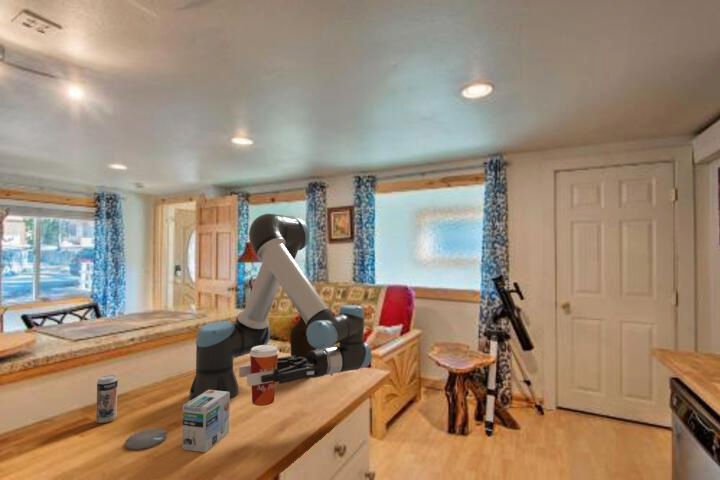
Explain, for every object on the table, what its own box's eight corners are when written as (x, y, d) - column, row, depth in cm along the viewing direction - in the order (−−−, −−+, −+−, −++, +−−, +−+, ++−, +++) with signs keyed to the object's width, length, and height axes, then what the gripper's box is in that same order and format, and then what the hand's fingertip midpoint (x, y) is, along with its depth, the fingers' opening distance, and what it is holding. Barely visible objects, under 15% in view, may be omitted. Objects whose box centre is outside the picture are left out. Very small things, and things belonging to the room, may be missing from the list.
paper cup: (262, 410, 91) (263, 353, 91) (241, 403, 95) (242, 348, 95) (284, 399, 97) (285, 346, 98) (264, 393, 101) (265, 342, 102)
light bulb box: (205, 453, 86) (206, 407, 87) (180, 450, 88) (181, 404, 88) (230, 431, 97) (231, 390, 97) (207, 429, 98) (208, 388, 98)
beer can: (94, 425, 100) (95, 381, 100) (97, 418, 104) (98, 376, 104) (115, 422, 102) (116, 378, 102) (117, 415, 106) (118, 373, 107)
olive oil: (322, 375, 141) (322, 310, 142) (297, 380, 135) (298, 313, 136) (308, 368, 150) (309, 307, 151) (285, 373, 144) (285, 309, 144)
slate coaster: (116, 449, 88) (116, 445, 88) (142, 431, 97) (142, 427, 97) (150, 451, 87) (150, 448, 87) (174, 433, 96) (174, 429, 96)
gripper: (339, 385, 98) (254, 404, 85) (308, 365, 114) (232, 379, 101) (340, 357, 98) (255, 372, 85) (308, 341, 114) (233, 352, 101)
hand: (243, 376), depth 93 cm, fingers closed on paper cup, 7 cm apart
